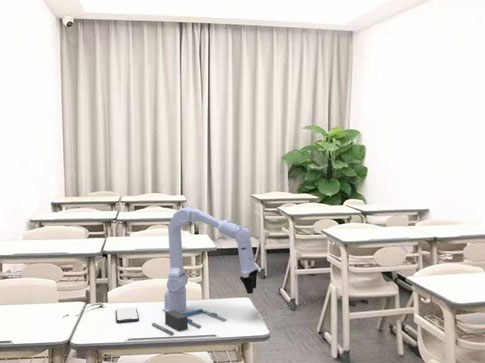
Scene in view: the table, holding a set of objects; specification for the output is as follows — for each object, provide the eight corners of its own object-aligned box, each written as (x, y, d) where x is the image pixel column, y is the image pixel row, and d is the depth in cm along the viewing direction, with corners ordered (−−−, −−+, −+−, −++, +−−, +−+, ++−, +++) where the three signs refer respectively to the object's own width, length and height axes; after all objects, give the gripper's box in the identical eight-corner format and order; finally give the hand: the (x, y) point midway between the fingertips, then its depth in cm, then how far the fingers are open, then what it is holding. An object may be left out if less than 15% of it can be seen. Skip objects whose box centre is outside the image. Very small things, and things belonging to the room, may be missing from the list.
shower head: (65, 326, 200) (109, 310, 214) (65, 319, 199) (109, 304, 213) (59, 320, 203) (102, 304, 217) (59, 312, 202) (103, 298, 216)
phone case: (115, 312, 209) (116, 324, 193) (115, 309, 209) (116, 320, 193) (136, 311, 211) (139, 322, 196) (136, 307, 211) (139, 318, 196)
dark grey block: (165, 324, 193) (165, 311, 193) (174, 322, 195) (174, 309, 195) (178, 331, 185) (178, 318, 185) (187, 329, 187) (187, 316, 187)
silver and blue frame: (150, 324, 192) (150, 320, 192) (203, 311, 208) (203, 308, 208) (171, 335, 181) (171, 331, 180) (226, 320, 197) (226, 317, 196)
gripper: (253, 260, 193) (258, 294, 194) (258, 253, 208) (264, 285, 208) (235, 262, 195) (241, 296, 195) (242, 255, 209) (247, 286, 209)
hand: (251, 290), depth 202 cm, fingers open, 7 cm apart
